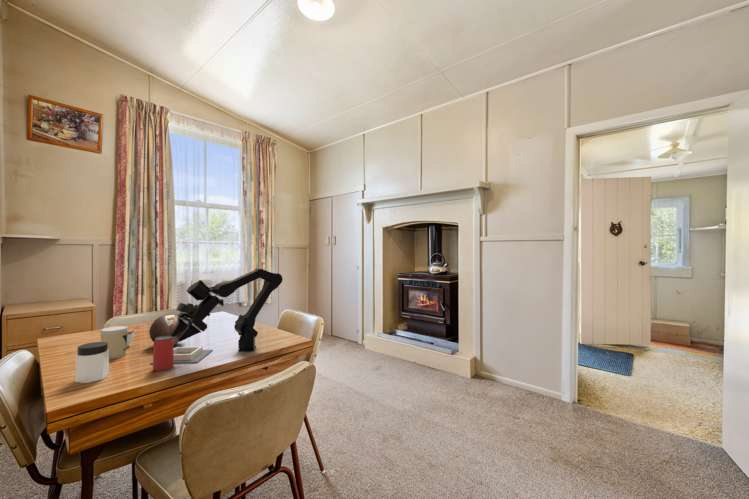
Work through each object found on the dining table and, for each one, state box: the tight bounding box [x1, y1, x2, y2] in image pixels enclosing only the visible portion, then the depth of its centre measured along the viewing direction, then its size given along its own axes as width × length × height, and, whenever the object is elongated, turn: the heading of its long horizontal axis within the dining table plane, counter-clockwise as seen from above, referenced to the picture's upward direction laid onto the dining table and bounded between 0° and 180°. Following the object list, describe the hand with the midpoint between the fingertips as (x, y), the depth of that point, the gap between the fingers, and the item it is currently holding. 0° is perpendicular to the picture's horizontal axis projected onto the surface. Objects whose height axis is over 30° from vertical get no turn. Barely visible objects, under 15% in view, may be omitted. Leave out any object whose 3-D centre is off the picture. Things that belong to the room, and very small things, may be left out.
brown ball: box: [149, 313, 185, 345], centre depth 153 cm, size 15×15×15 cm
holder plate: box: [149, 346, 214, 365], centre depth 137 cm, size 18×16×3 cm
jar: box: [75, 341, 110, 384], centre depth 114 cm, size 9×8×12 cm
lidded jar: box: [126, 327, 135, 348], centre depth 150 cm, size 11×11×9 cm
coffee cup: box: [99, 325, 128, 360], centre depth 137 cm, size 9×9×12 cm
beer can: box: [152, 336, 175, 372], centre depth 124 cm, size 7×7×12 cm
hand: (175, 338), depth 127 cm, fingers open, 9 cm apart
